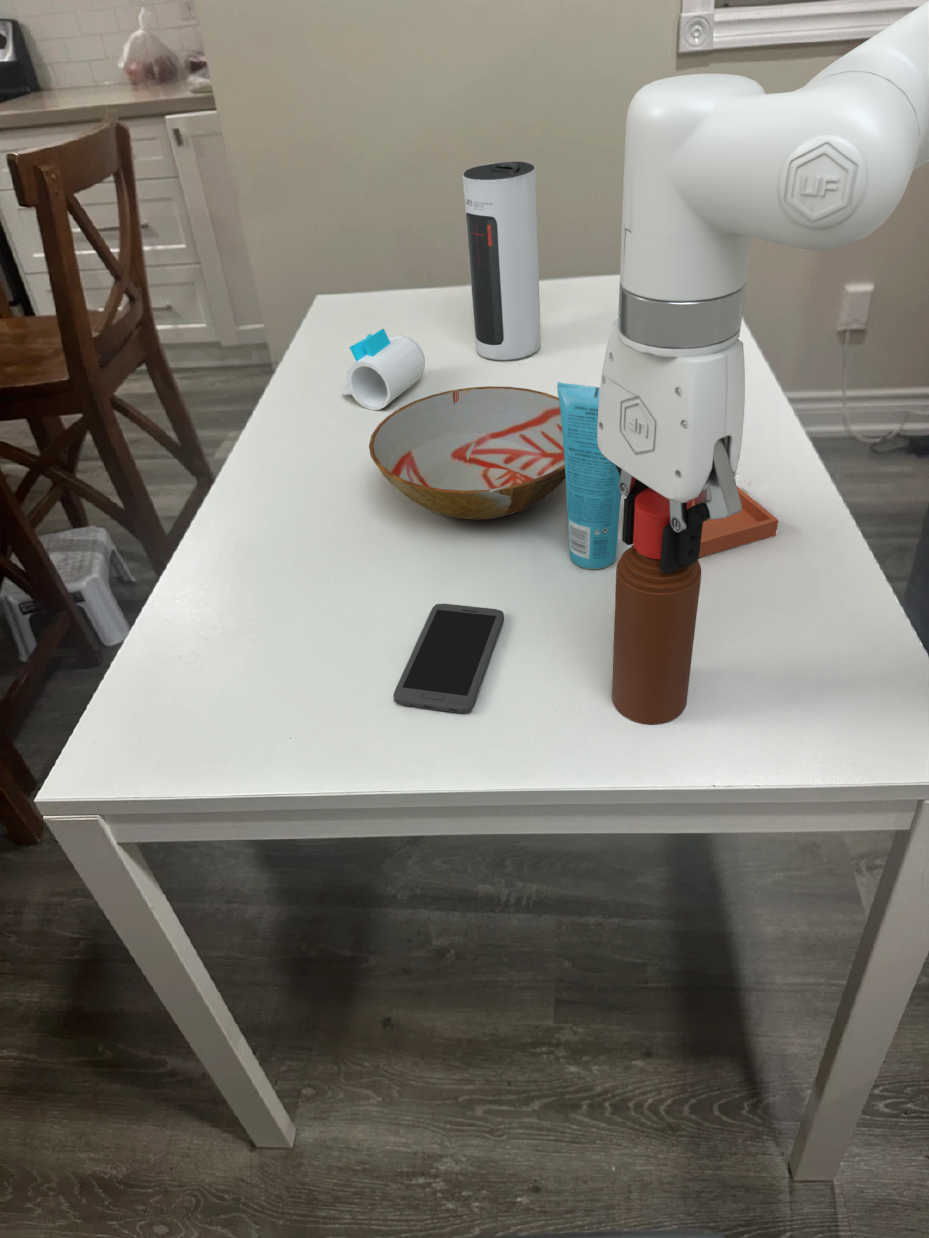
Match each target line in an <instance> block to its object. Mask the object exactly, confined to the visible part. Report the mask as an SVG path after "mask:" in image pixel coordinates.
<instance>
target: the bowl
mask: <svg viewBox="0 0 929 1238" xmlns="http://www.w3.org/2000/svg"><path fill="white" fill-rule="evenodd" d="M368 450H369V454H370V458H371V459H372V461H373V462H374V464H375V465H376V468H378V470H379V471H380V472H381V473H382V475H383V477H384V478H386V480H387V481H388V482H389V483H390V484H391V486H393V487H394V488H395V489H397V490H398V491H399V492H400V493H401V494H403V496H405V497H406V498H407V499H408V500H410V501H412V502H413V503H415V504H417V505H419V506H420V507H422V508H425V509H426V510H428V511H430V512H433V513H435V514H438V515H442V516H445V517H446V516H447V517H450V518H451V517H452V518H456V519H463V520H477V521H479V520H491V519H497V518H502V517H506V516H509V515H512V514H516V513H518V512H522V511H523V510H526V509H528V508H530V507H533V506H535V505H536V504H537V503H540V502H541V501H543V500H544V499H546V498H547V497H548V496H549V495H551V494H552V493H553V492H554V491H555V490H556V489H557V488H558V487H560V485H562V484H563V483H564V481H566V475H565V460H564V446H563V433H562V423H561V412H560V404H559V397H558V396H555V395H553V394H550V393H547V392H543V391H539V390H534V389H530V388H522V387H514V386H491V385H490V386H473V387H465V388H459V389H451V390H446V391H443V392H439V393H434V394H431V395H427V396H425V397H422V398H419V399H416V400H413V401H411V402H410V403H407V404H405V405H403V406H400V407H399V408H398V409H396V410H395V411H393V412H391V413H390V414H388V415H386V417H385V418H384V419H383V420H382V421H381V422H380V423H379V424H377V426H376V428H375V429H374V431H373V432H372V433H371V436H370V439H369V444H368Z"/></svg>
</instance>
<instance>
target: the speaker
mask: <svg viewBox="0 0 929 1238" xmlns="http://www.w3.org/2000/svg"><path fill="white" fill-rule="evenodd" d="M462 186H463V199H464V211H465V224H466V225H465V226H466V238H467V250H468V263H469V264H468V265H469V276H470V289H471V301H472V314H473V327H474V339H475V351H476V353H477V354H478V355H479V356H480V357H482V358H483V359H486V360H490V361H496V362H498V361H499V362H507V361H518V360H523V359H525V358H527V359H528V358H530V357H532V356H534V355H535V354H537V353H538V352H539V351H540V349H541V346H542V335H541V332H542V331H541V304H540V303H541V299H540V270H539V268H540V267H539V244H538V243H539V239H538V208H537V204H538V203H537V177H536V166H535V165H533V164H532V163H529V162H525V161H503V162H493V163H485V164H480V165H477V166H473V167H470V168H468V169H465V170H464V171H463V172H462Z"/></svg>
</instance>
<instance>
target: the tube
mask: <svg viewBox="0 0 929 1238" xmlns="http://www.w3.org/2000/svg"><path fill="white" fill-rule="evenodd" d="M556 389H557V397H558V398H559V404H560V412H561V423H562V433H563V446H564V460H565V475H566V479H565V490H566V508H567V527H568V547H569V558H570V561H571V562H572V563H573V564H574V565H576V566H578V567H579V568H583V569H587V570H601V569H605V568H607V567H609V566H610V565H612V564H613V563H615V561H616V559H617V552H618V540H619V539H618V537H619V527H620V526H619V525H620V515H621V502H622V494H621V492H620V490H619V481H620V475H619V472H618V470H617V468H616V466H615V464H614V463H612V462H611V461H610V460H608V459H607V458H606V457H605V456H604V455H603V454H602V453H601V451H600V449H599V447H598V442H597V424H598V408H599V396H600V386H599V387H597V386H592V385H583V384H576V383H567V382H560V381H559V382H557V386H556Z"/></svg>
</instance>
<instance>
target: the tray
mask: <svg viewBox="0 0 929 1238" xmlns="http://www.w3.org/2000/svg"><path fill="white" fill-rule="evenodd" d="M736 486H737V489H738V493H739V496H740V500H741V503H742V510H741V512H739V513H736V514H734V515H732V516H729V517H727V518H723V519H713V520H711V519H710V520H707V521H705V522H703V527H702V536H701V544H700V553H699V558H698V559H700V558H703V557H707V556H710V555H714V554H717V553H720V552H723V551H728V550H730V549H735V548H737V547H741V546H744V545H748V544H751V543H754V542H759V541H760V540H761V541H762V540H765V539H769V538H771V537H772V538H773V537H775V536H776V535H777V532H778V531H777V530H778V527H779V526H778V525H779V519H778V518H777V517H776V516H775V515H773V513H771V512H770V511H769V510H767V509H766V508H765V507H764V506H762V505H761V504H760V503H759V502H757V501H756V500H755V499H754V498H753V497H751V496H750V495H749V494H748V493H747V492H745V491H744V490H743V489H741V487H739V486H738V485H736ZM692 502H693V503H692V506H694V499H692Z"/></svg>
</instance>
